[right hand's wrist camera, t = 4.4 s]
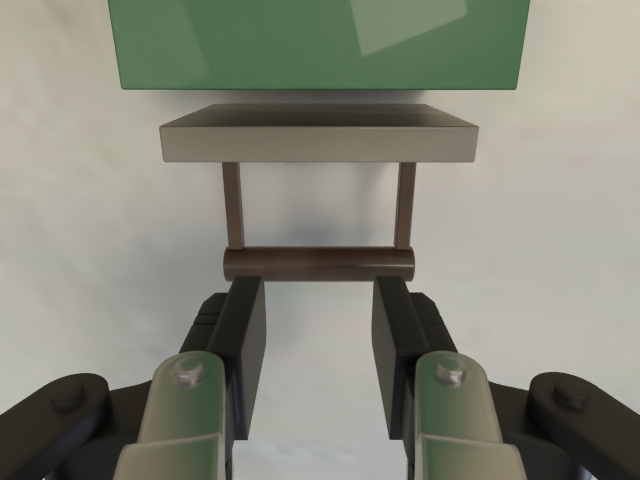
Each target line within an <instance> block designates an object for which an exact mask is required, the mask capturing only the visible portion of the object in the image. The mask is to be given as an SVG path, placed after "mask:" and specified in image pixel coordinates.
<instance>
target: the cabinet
mask: <svg viewBox="0 0 640 480" xmlns="http://www.w3.org/2000/svg"><path fill="white" fill-rule="evenodd" d="M529 4H530V0H108V5H109V11H110V18H111V24H112V31H113V37H114V43H115V50H116V56H117V63H118V69H119V76H120V82H121V88H122V89H123V90H515V89H516V88H517V82H518V75H519V69H520V62H521V56H522V49H523V43H524V36H525V30H526V24H527V17H528V11H529Z"/></svg>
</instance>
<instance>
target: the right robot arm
mask: <svg viewBox="0 0 640 480" xmlns="http://www.w3.org/2000/svg"><path fill="white" fill-rule="evenodd" d="M265 345H266V310H265V291H264V278H263V275H236V276H235V277H234V280H233V283H232V285H231V288H230V290H229V293H215V294H213V295H212V296H211V297H210V298H208V299H207V300H206V301H204V302H203V304H202V306H201V308H200V310H199V312H198V316H196V318H195V321H194V323H193V325H192V327H191V329H190V331H189V333H188V335H187V337H186V339H185V341H184V343H183V345H182V347H181V349H180V351H179V354H177V355H175V356H173V357H170V358H169V359H167V360H165V361H164V362H163V363H161V364H160V365H159V366H158V368H157V369H156V371H155V373H154V375H153V379H152V380H150V381H148V382H145V383H142V384H138V385H135V386H130V387H125V388H121V389H116V390H111V391H109V387H108V383H107V381H106V380H105V379H104V378H103V377H102V376H99V375H96V374H91V373H80V374H73V375H68V376H65V377H62V378H59V379H57V380H54V381H52V382H50V383H48V384H47V385H45V386H43V387H42V388H40V389H39V390H37V391H36V392H34V393H33V394H31V395H30V396H28V397H27V398H25V399H24V400H22V401H21V402H19V403H18V404H16V405H15V406H13V407H12V408H10V409H9V410H7V411H6V412H4V413H3V414H1V415H0V480H42V479H43V478H45V480H234V465H233V455H232V448H233V443H234V440H248V435H249V430H250V424H251V419H252V414H253V409H254V404H255V398H256V393H257V388H258V383H259V377H260V372H261V367H262V362H263V357H264V351H265ZM372 346H373V352H374V358H375V363H376V369H377V374H378V379H379V385H380V390H381V396H382V401H383V407H384V412H385V417H386V423H387V428H388V434H389V439H390V440H403V443H404V448H405V452H406V455H407V465H406V480H591V477H592V475H593V476H594V477H596V478H597V479H598V480H640V415H639V414H637V413H636V412H634V411H633V410H631V409H630V408H628V407H627V406H625V405H624V404H622V403H621V402H619V401H618V400H616V399H615V398H613V397H612V396H610V395H609V394H607V393H606V392H604V391H603V390H601V389H600V388H598V387H597V386H595V385H594V384H592V383H590V382H588V381H586V380H584V379H582V378H579V377H577V376H574V375H570V374H566V373H560V372H546V373H541V374H539V375H537V376H535V377H534V378H533V379H532V381H531V383H530V388H529V391H527V390H522V389H518V388H513V387H508V386H504V385H500V384H496V383H493V382H490V381H488V379H487V375H486V373H485V371H484V369H483V368H482V366H481V365H480V364H479V363H477V362H476V361H475V360H473V359H471V358H470V357H467V356H465V355H463V354H460V353H458V351H457V349H456V347H455V345H454V343H453V341H452V339H451V336H450V334H449V332H448V330H447V328H446V326H445V325H444V322H443V320H442V317H441V316H440V313H439V311H438V309H437V307H436V305H435V303H434V302H433V301H432V300H431V299H430V298H428V297H427V296H426V295H424V294H423V293H409V291H408V289H407V286H406V283H405V281H404V278H403V276H402V275H375V277H374V286H373V307H372Z"/></svg>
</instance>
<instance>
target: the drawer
mask: <svg viewBox="0 0 640 480" xmlns="http://www.w3.org/2000/svg"><path fill="white" fill-rule="evenodd" d="M159 130H160V138H161V146H162V153H163V160H164V162H222V169H223V181H224V193H225V206H226V218H227V230H228V243H229V246H228V247H226V249H225V253H224V261H223V269H224V276H225V279H226V281H228V282H233V280H234V277H235V276H236V275H263V278H264V282H374V277H375V275H402V276H403V278H404V281H405V282H411V281H412V280H413V278H414V273H415V257H414V251H413V249H412V247H410V235H411V223H412V210H413V198H414V186H415V173H416V162H474V161H475V154H476V146H477V139H478V131H479V127H478V126H476V125H474V124H471V123H469V122H466V121H464V120H462V119H459V118H457V117H454V116H452V115H450V114H447V113H445V112H442V111H440V110H437V109H435V108H433V107H430V106H428V105H425V104H213V105H211V106H208V107H206V108H203V109H201V110H198V111H196V112H193V113H191V114H188V115H186V116H184V117H181V118H179V119H176V120H174V121H171V122H169V123H166V124H164V125H162V126H160V127H159ZM239 162H399V173H398V188H397V203H396V218H395V233H394V246H244V245H245V242H244V227H243V212H242V197H241V182H240V167H239Z"/></svg>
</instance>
